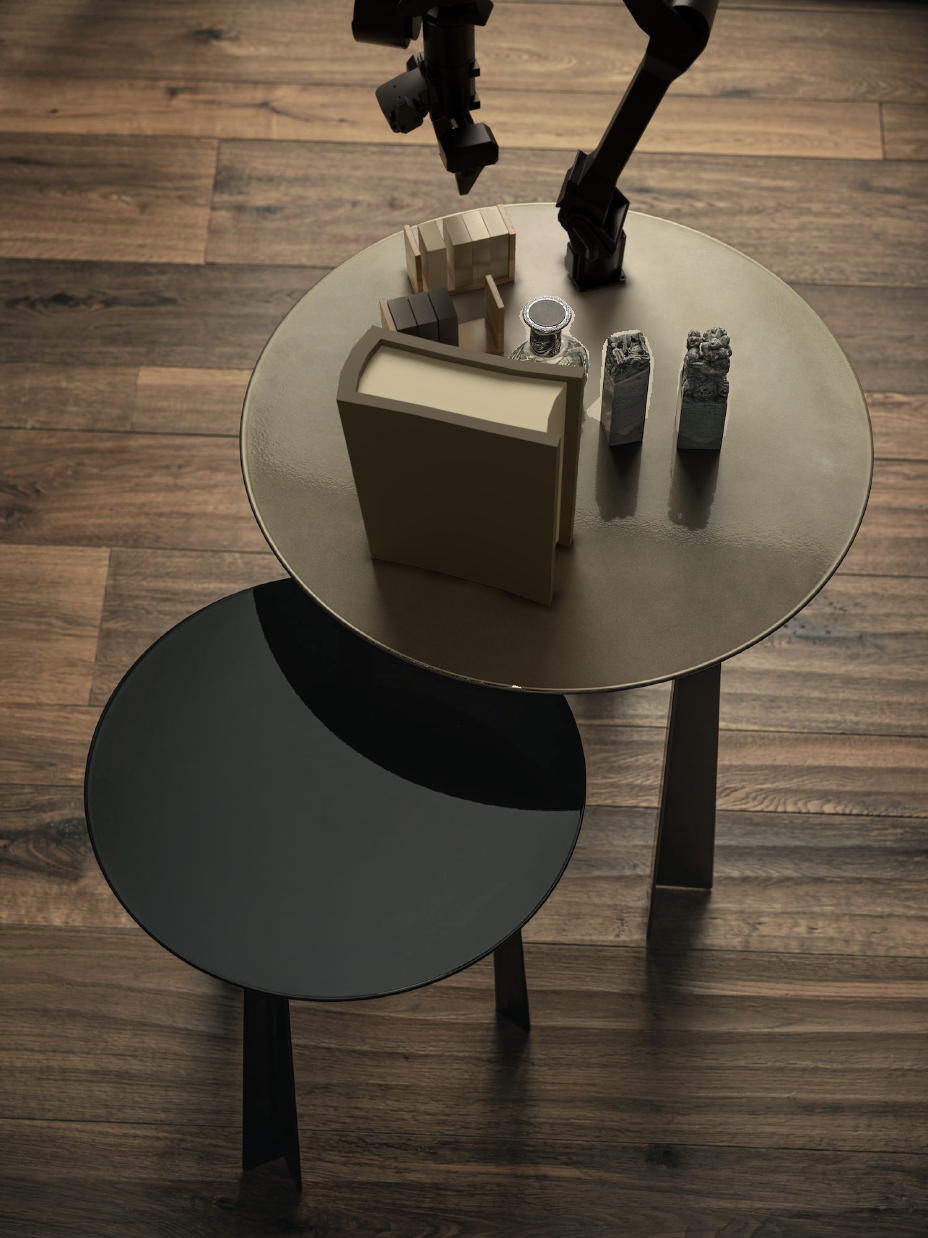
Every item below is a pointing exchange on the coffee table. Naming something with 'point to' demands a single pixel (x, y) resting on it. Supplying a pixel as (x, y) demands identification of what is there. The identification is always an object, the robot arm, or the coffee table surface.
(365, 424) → the book
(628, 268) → the coffee table surface
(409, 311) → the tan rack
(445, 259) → the cream book
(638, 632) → the coffee table surface
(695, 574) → the coffee table surface
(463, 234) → the brown rack
